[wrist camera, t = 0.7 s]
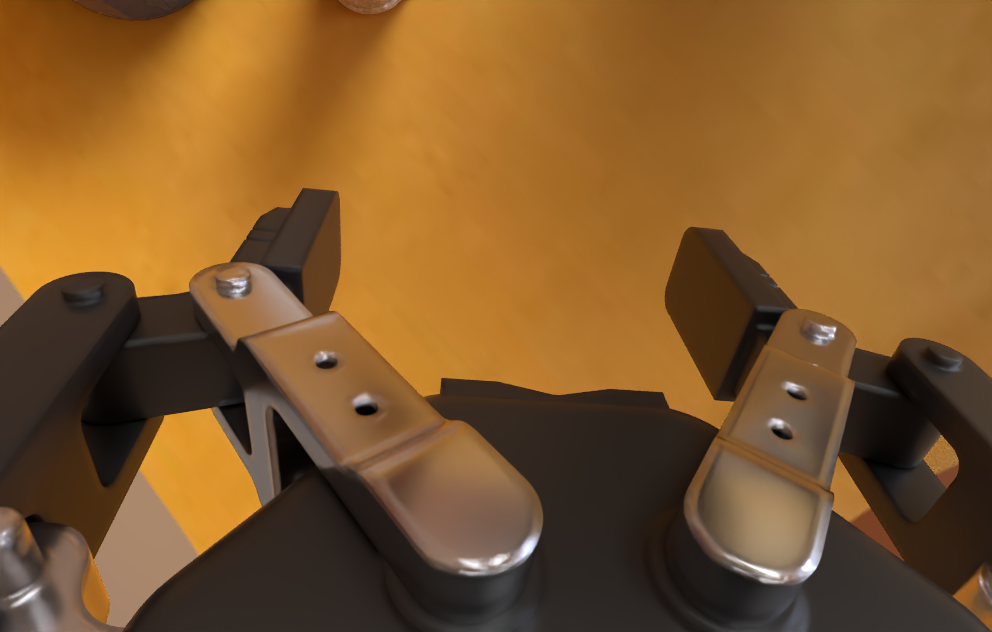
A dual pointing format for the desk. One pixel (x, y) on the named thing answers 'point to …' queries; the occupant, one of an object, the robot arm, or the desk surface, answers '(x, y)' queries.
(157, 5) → the pot
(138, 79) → the desk surface
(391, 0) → the sprinkles bottle
